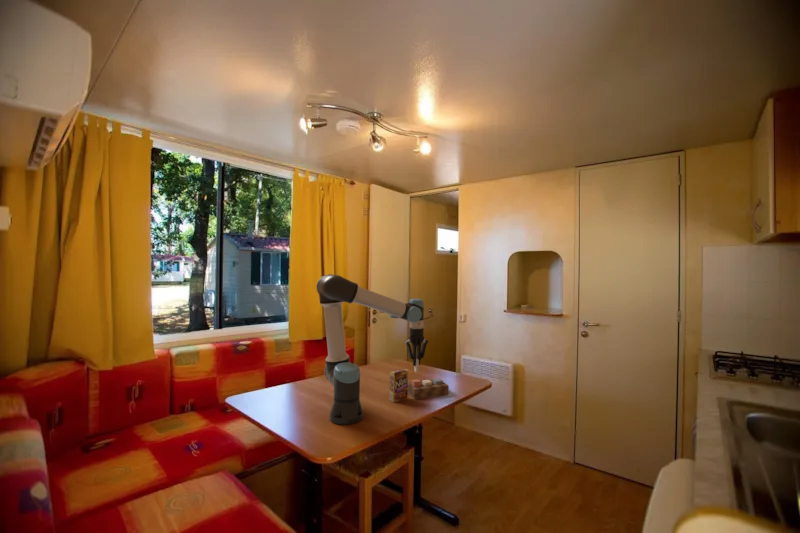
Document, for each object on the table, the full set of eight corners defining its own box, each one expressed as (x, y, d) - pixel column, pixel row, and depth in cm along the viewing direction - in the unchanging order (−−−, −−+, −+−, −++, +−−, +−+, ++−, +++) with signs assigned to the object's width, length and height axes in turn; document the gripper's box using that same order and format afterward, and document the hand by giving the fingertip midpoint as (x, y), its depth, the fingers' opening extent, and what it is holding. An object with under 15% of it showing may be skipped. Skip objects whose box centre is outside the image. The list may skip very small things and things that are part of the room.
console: (414, 399, 183) (414, 389, 183) (405, 391, 194) (405, 382, 194) (448, 394, 190) (448, 385, 190) (438, 387, 201) (438, 378, 201)
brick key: (414, 389, 187) (414, 382, 187) (411, 387, 191) (411, 379, 191) (420, 388, 189) (421, 381, 189) (417, 386, 192) (417, 379, 192)
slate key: (435, 388, 192) (436, 381, 192) (432, 386, 196) (432, 379, 196) (442, 387, 193) (442, 380, 193) (439, 385, 197) (439, 378, 197)
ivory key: (425, 390, 190) (425, 382, 190) (422, 387, 193) (422, 380, 193) (431, 389, 191) (431, 381, 191) (428, 386, 195) (428, 379, 195)
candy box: (393, 403, 178) (394, 372, 178) (389, 400, 181) (389, 370, 181) (408, 399, 182) (408, 370, 183) (403, 397, 186) (403, 368, 186)
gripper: (408, 329, 184) (407, 374, 184) (430, 328, 189) (430, 372, 189) (402, 327, 191) (402, 370, 191) (424, 325, 196) (424, 368, 196)
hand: (416, 371), depth 190 cm, fingers closed
